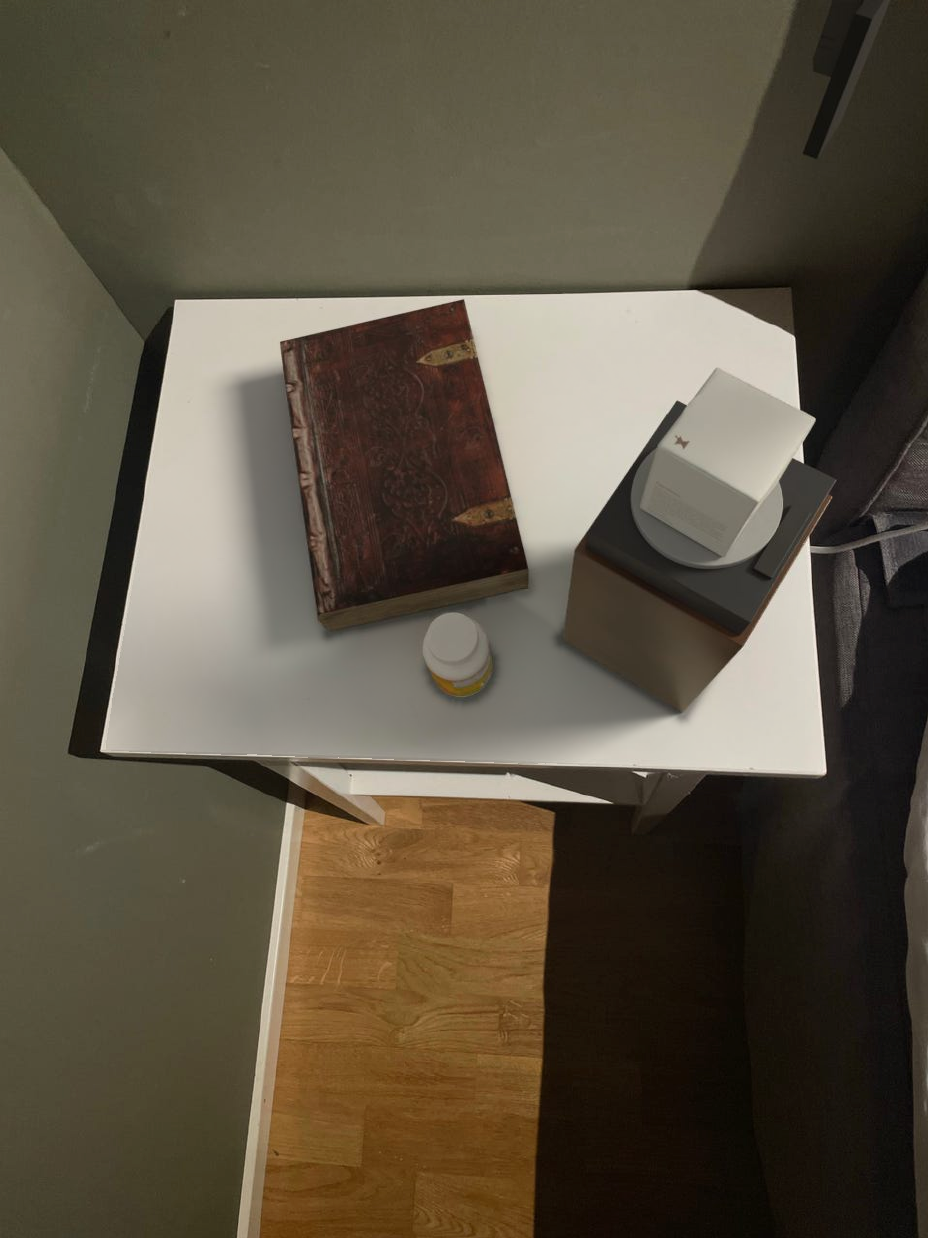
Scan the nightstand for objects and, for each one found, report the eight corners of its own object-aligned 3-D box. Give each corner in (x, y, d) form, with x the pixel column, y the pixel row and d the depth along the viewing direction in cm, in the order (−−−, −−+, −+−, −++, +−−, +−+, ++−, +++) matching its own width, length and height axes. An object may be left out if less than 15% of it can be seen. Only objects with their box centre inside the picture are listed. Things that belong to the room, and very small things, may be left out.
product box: (723, 562, 46) (758, 505, 39) (635, 508, 47) (653, 445, 41) (777, 485, 47) (819, 417, 40) (690, 435, 49) (716, 362, 42)
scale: (822, 498, 50) (840, 474, 47) (739, 636, 48) (753, 620, 45) (670, 421, 53) (678, 394, 50) (584, 547, 50) (588, 527, 47)
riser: (750, 601, 69) (833, 496, 50) (682, 713, 66) (743, 646, 47) (631, 535, 72) (667, 412, 53) (562, 640, 69) (574, 550, 50)
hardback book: (290, 371, 81) (275, 339, 76) (467, 333, 80) (464, 298, 76) (327, 631, 71) (313, 614, 66) (528, 589, 71) (528, 568, 66)
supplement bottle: (424, 651, 70) (408, 616, 61) (480, 631, 70) (473, 593, 61) (443, 707, 68) (429, 680, 59) (501, 686, 68) (496, 656, 59)
